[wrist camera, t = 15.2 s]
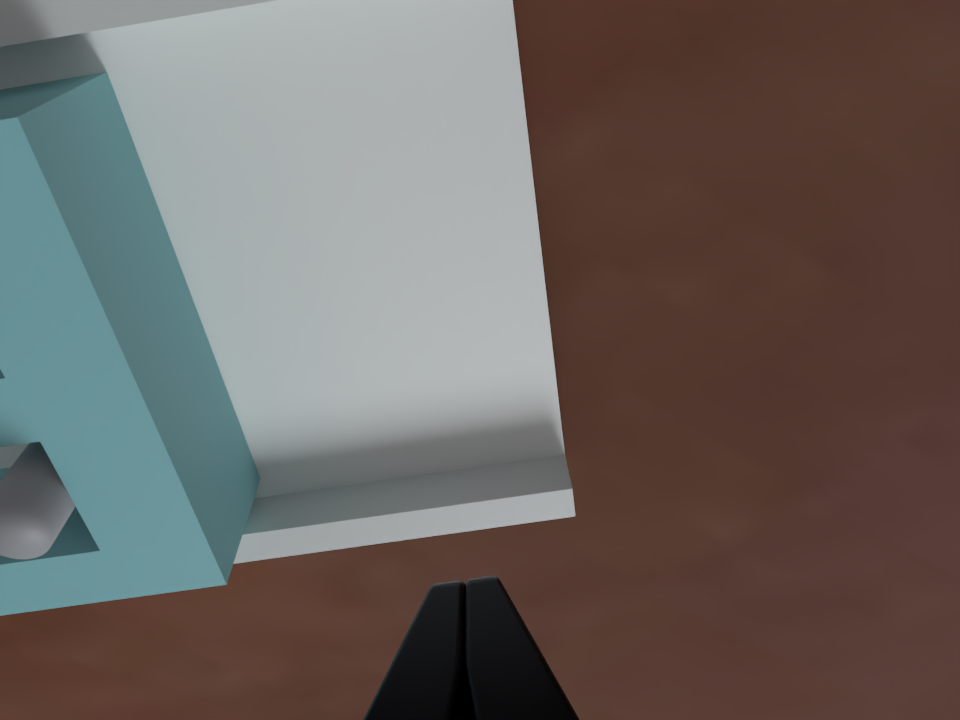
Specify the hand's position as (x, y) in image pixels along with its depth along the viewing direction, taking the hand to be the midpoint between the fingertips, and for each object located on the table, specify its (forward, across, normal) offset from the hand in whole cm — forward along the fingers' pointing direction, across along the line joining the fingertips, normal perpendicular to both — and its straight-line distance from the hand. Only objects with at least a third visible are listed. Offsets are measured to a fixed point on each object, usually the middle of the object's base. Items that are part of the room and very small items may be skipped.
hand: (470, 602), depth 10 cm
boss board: (+12, +6, 0) cm, 13 cm away
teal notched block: (+11, +10, 0) cm, 15 cm away
